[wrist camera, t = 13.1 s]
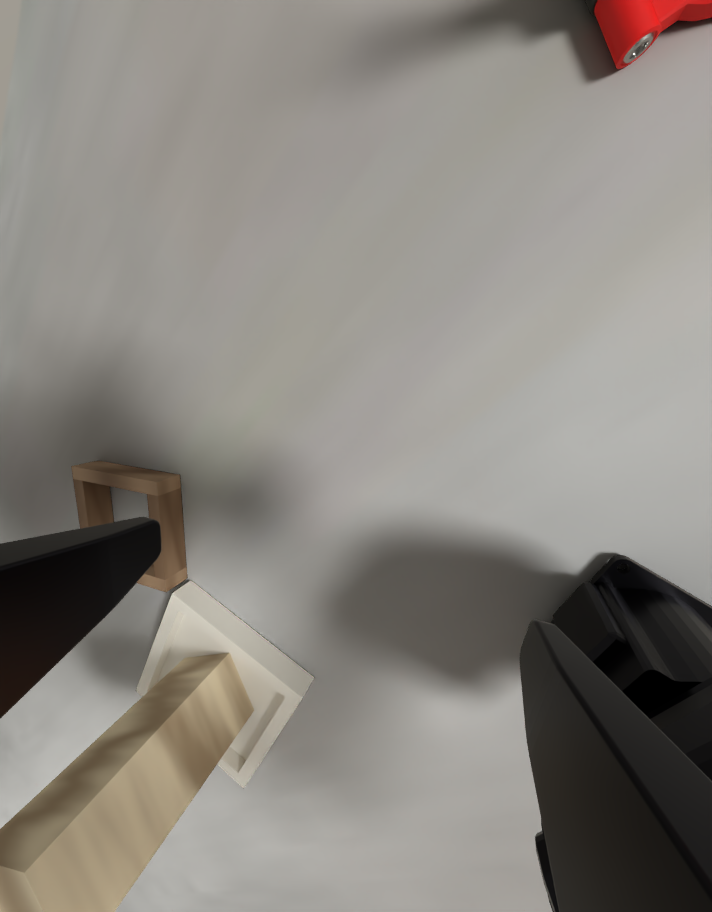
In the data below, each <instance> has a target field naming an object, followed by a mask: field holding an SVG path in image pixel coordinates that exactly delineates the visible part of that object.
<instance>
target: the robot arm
mask: <svg viewBox="0 0 712 912" xmlns="http://www.w3.org/2000/svg"><path fill="white" fill-rule="evenodd" d="M161 549H162V544H161V527H160V523H159V522H158V521H157V520H154V519H150V518H147V517H139V518H133V519H128V520H123V521H118V522H112V523H107V524H102V525H97V526H91V527H86V528H81V529H76V530H70V531H65V532H60V533H55V534H49V535H44V536H39V537H34V538H28V539H23V540H18V541H13V542H7V543H2V544H0V718H1V717H2V716H4V715H5V714H6V713H7V712H8V711H9V710H10V709H11V708H12V707H13V706H14V705H15V704H16V703H17V702H18V701H19V700H20V699H21V698H22V697H23V696H24V695H25V694H26V693H27V692H28V691H29V690H30V689H31V688H32V687H33V686H34V685H35V684H36V683H38V682H39V681H40V680H41V679H42V678H43V677H44V676H45V675H46V674H47V673H48V672H49V671H50V670H51V669H52V668H53V667H54V666H55V665H56V664H57V663H58V662H59V661H60V660H61V659H62V658H63V657H64V656H65V655H66V654H67V653H68V652H69V651H71V650H72V649H73V648H74V647H75V646H76V645H77V644H78V643H79V642H80V641H81V640H82V639H83V638H84V637H85V636H86V635H87V634H88V633H89V632H90V631H91V630H92V629H93V628H94V627H95V626H96V625H97V624H98V623H99V622H100V621H101V620H102V619H103V618H105V617H106V616H107V615H108V614H109V613H110V612H111V611H112V609H113V608H114V607H115V606H116V605H117V604H118V603H119V602H120V601H121V600H122V599H123V598H124V596H125V595H126V594H127V593H128V592H129V591H130V590H131V588H132V587H133V586H134V585H135V584H136V583H137V582H138V580H139V579H140V578H141V577H142V576H143V575H144V574H145V572H146V571H147V570H148V569H149V568H150V567H151V565H152V564H153V563H154V562H155V561H156V560H157V559H158V557H159V555H160V553H161ZM620 564H626V565H627V567H626V568H625V569H621V570H620V569H617V567H618V566H619V565H620ZM553 617H554V620H553V621H552V622H551V623H548V622H544V621H540V620H536V619H535V620H532V621H531V623H530V624H529V627H528V630H527V633H526V636H525V638H524V641H523V644H522V647H521V651H520V671H521V682H522V694H523V705H524V717H525V728H526V737H527V745H528V751H529V757H530V762H531V767H532V772H533V777H534V783H535V788H536V793H537V798H538V803H539V809H540V814H541V826H542V831H541V832H539V833H537V834H536V836H535V841H536V852H537V856H538V860H539V864H540V869H541V873H542V877H543V881H544V885H545V888H546V891H547V894H548V898H549V902H550V905H551V908H552V911H553V912H712V606H710V605H709V604H707V603H705V602H704V601H702V600H700V599H698V598H697V597H695V596H693V595H692V594H690V593H688V592H686V591H685V590H683V589H681V588H680V587H678V586H676V585H675V584H673V583H671V582H669V581H668V580H666V579H664V578H663V577H661V576H659V575H657V574H656V573H654V572H652V571H651V570H649V569H647V568H646V567H644V566H642V565H640V564H639V563H637V562H635V561H634V560H632V559H630V558H628V557H626V556H623V555H618V556H614V557H613V558H611V559H610V560H609V561H608V562H607V563H606V564H605V565H604V566H603V568H602V569H601V570H600V571H599V572H598V573H597V574H596V575H595V576H594V577H593V578H592V579H591V580H590V581H589V582H585V583H582V585H581V586H580V587H579V588H578V589H577V590H576V591H575V592H574V593H573V594H572V595H571V596H570V597H569V598H568V600H567V601H566V602H565V603H564V604H563V605H562V606H561V607H560V608H559V609H558V610H557V611H556V612H555V613H554V615H553Z"/></svg>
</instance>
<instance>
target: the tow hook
mask: <svg viewBox="0 0 712 912" xmlns="http://www.w3.org/2000/svg"><path fill="white" fill-rule="evenodd" d="M585 1H586V4H587V6H588V9H589V11H590V13H591V14H592V15H594V16H596V18H597V21H598V23H599V26H600V28H601V31H602V33H603V36H604V38H605V41H606V43H607V46H608V48H609V51H610V53H611V56H612V58H613V61H614V63H615V66H616V68H617V69H622V68H624V67H626V66H628V65H629V64H631V63H632V62H634V61H635V60H636V59H637V58H638V57H640V56H641V55H642V54H643V53H644V52H645V51H646V50H647V49H648V48H649V47H650V46H651V45H652V43H653V42H654V41H655V40H656V38H657V37H658V35H659V34H660V32H662V31H663V30H664V29H666V28H667V27H669V26H670V25H672V24H673V23H675V22H676V21H678V20H680V21H698V20H703V19H707V18H712V0H585Z"/></svg>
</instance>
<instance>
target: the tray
mask: <svg viewBox="0 0 712 912" xmlns="http://www.w3.org/2000/svg"><path fill="white" fill-rule="evenodd" d="M222 653H230V655H231V657H232V659H233V662H234V664H235V666H236V669H237V671H238V673H239V676H240V678H241V680H242V683H243V685H244V687H245V690H246V692H247V694H248V697H249V699H250V701H251V704H252V706H253V708H254V712H253V713H252V715H251V716H250V717H249V719H248V720H247V722H246V723H245V725H244V726H243V727H242V729H241V730H240V732H239V733H238V735H237V736H236V738H235V739H234V740H233V742H232V743H231V745H230V746H229V748H228V749H227V751H226V752H225V753H224V755H223V756H222V758H221V759H220V761H219V762H218V763H217V765H218V766H219V767H220V768H222V769H223V770H224V771H225V772H226V773H227V774H228V775H229V776H230V777H232V778H233V779H234V780H235V781H236V782H237V783H238V784H239V785H240V786H242V787H243V788H245V786H246V784H247V783H248V781H249V780H250V778H251V777H252V775H253V774H254V772H255V771H256V769H257V768H258V766H259V765H260V763H261V761H262V760H263V758H264V757H265V755H266V754H267V752H268V751H269V749H270V748H271V746H272V745H273V743H274V741H275V740H276V738H277V737H278V735H279V734H280V732H281V731H282V729H283V728H284V726H285V725H286V723H287V721H288V720H289V718H290V717H291V715H292V714H293V712H294V711H295V709H296V708H297V706H298V705H299V703H300V701H301V700H302V698H303V697H304V695H305V693H306V691H307V690H308V688H309V686H310V684H311V683H312V681H313V679H314V677H313V676H312V675H310V674H309V673H308V672H307V671H305V670H304V669H303V668H302V667H300V666H299V665H298V664H297V663H295V662H294V661H293V660H291V659H290V658H289V657H288V656H286V655H285V654H284V653H283V652H281V651H280V650H279V649H277V648H276V647H275V646H274V645H272V644H271V643H270V642H269V641H267V640H266V639H265V638H263V637H262V636H261V635H260V634H258V633H257V632H256V631H255V630H253V629H252V628H251V627H250V626H248V625H247V624H246V623H244V622H243V621H242V620H241V619H239V618H238V617H237V616H236V615H234V614H233V613H232V612H230V611H229V610H228V609H227V608H225V607H224V606H223V605H222V604H220V603H219V602H218V601H217V600H215V599H214V598H213V597H211V596H210V595H209V594H208V593H206V592H205V591H204V590H203V589H201V588H200V587H199V586H197V585H196V584H195V583H194V582H192V581H189V582H188V583H186V584H185V585H183V586H182V587H180V588H179V589H177V590H176V591H174V592H173V593H172V595H171V598H170V600H169V603H168V606H167V608H166V611H165V614H164V616H163V619H162V622H161V624H160V627H159V630H158V632H157V635H156V638H155V640H154V643H153V646H152V648H151V651H150V654H149V656H148V659H147V662H146V664H145V667H144V670H143V672H142V675H141V678H140V680H139V683H138V686H137V688H136V692H137V693H139V694H140V695H141V696H142V697H143V696H144V695H145V694H146V693H147V692H148V691H149V690H151V689H152V688H153V687H154V686H155V685H156V684H157V683H158V682H159V681H160V680H161V679H162V678H163V677H165V676H166V675H167V674H168V673H169V672H170V671H171V670H172V669H173V668H174V667H175V666H176V665H177V664H179V663H180V662H181V661H182V660H183V659H184V658H189V657H197V656H205V655H214V654H222Z"/></svg>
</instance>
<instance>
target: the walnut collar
mask: <svg viewBox="0 0 712 912" xmlns="http://www.w3.org/2000/svg"><path fill="white" fill-rule="evenodd" d="M71 467H72V474H73V481H74V488H75V495H76V502H77V509H78V516H79V523H80V529H81V528H86V527H91V526H97V525H102V524H107V523H112V522H114V519H113V510H112V502H111V493H110V486H111V487H116V488H121V489H126V490H131V491H135V492H140V493H145V494H147V499H148V510H149V518H150V519H154V520H157V521H158V522H159V523H160V527H161V544H162V549H161V553H160V555H159V557H158V559H157V560H156V561H155V562H154V563H153V564H152V565H151V567H150V568H149V569H148V570H147V571H146V572H145V574H144V575H143V576H142V577H141V578H140V579H139V580H138V582H137V583H138V584H142V585H145V586H148V587H151V588H154V589H158V590H161V591H164V592H167V591H169V590H170V589H172V588H173V587H175V586H176V585H178V584H179V583H181V582H182V581H184V580H185V579H187V567H186V553H185V538H184V524H183V510H182V496H181V482H180V475H178V474H172V473H166V472H161V471H155V470H149V469H143V468H138V467H132V466H126V465H120V464H115V463H109V462H103V461H93V462H89V463H84V464H79V465H75V466H71Z"/></svg>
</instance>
